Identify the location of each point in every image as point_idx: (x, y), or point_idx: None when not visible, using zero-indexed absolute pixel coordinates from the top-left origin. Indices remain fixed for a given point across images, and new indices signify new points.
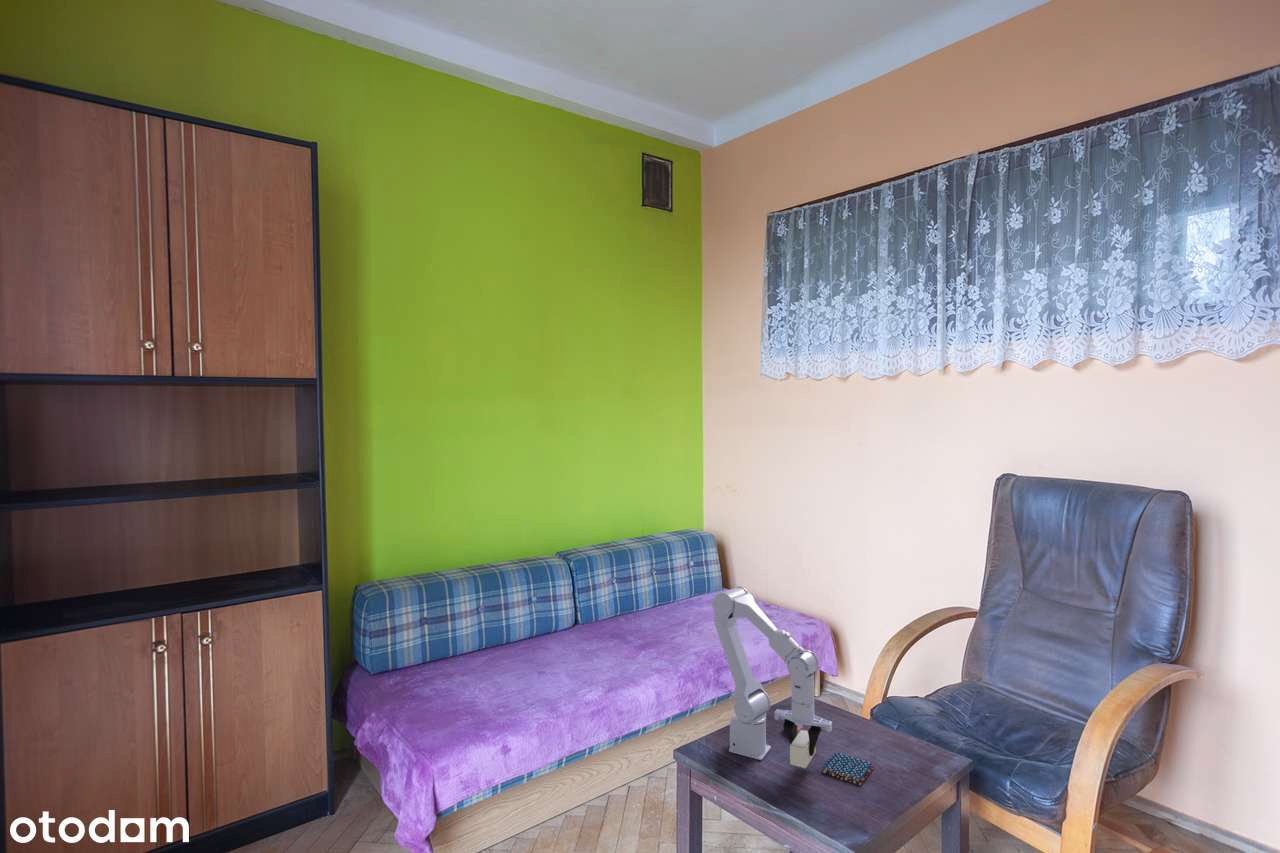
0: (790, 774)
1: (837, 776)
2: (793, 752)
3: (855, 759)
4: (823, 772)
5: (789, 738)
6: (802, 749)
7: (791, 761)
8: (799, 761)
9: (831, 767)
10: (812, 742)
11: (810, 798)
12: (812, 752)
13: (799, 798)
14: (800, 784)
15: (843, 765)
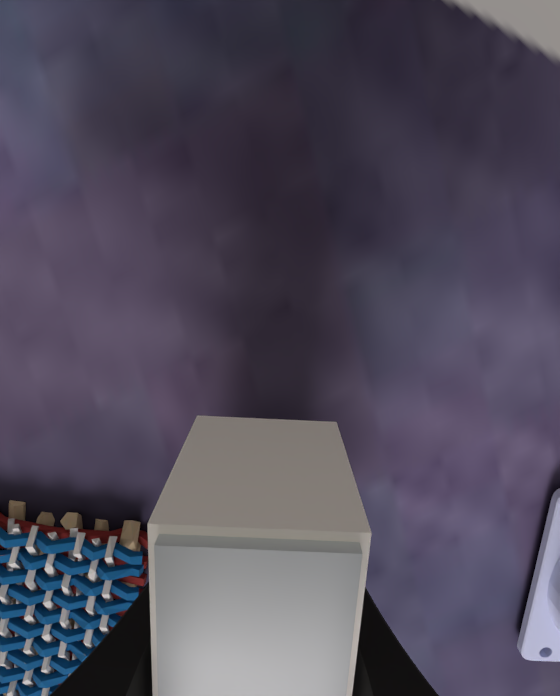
0: (329, 417)
1: (44, 516)
2: (313, 484)
3: None
4: (135, 521)
5: (414, 677)
6: (191, 517)
7: (325, 434)
8: (247, 439)
9: (91, 578)
10: (80, 688)
11: (117, 177)
12: (148, 592)
13: (188, 137)
14: (234, 326)
15: (26, 625)
